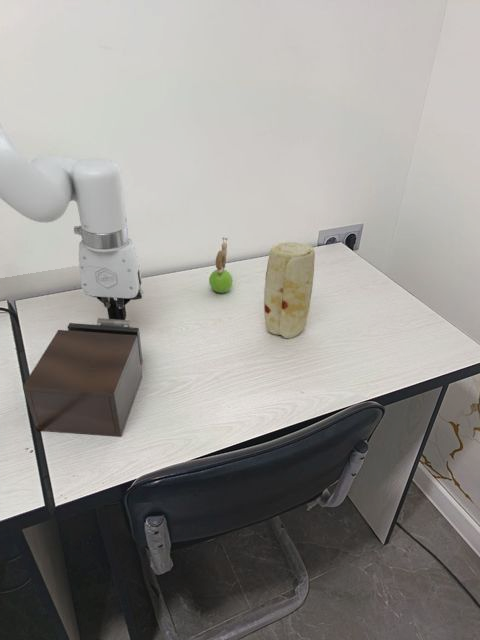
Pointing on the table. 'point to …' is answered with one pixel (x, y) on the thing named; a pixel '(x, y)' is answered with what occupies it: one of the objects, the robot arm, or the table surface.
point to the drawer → (109, 329)
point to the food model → (288, 288)
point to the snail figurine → (221, 272)
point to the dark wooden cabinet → (85, 383)
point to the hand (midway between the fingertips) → (118, 321)
